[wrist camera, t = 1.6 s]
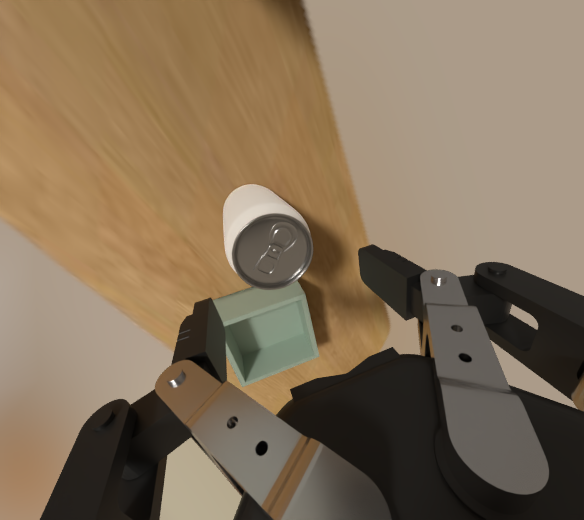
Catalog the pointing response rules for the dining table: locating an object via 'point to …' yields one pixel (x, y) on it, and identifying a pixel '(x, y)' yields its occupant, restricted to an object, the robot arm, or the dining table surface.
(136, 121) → the dining table surface
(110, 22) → the dining table surface
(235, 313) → the bin
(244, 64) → the dining table surface
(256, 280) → the can
